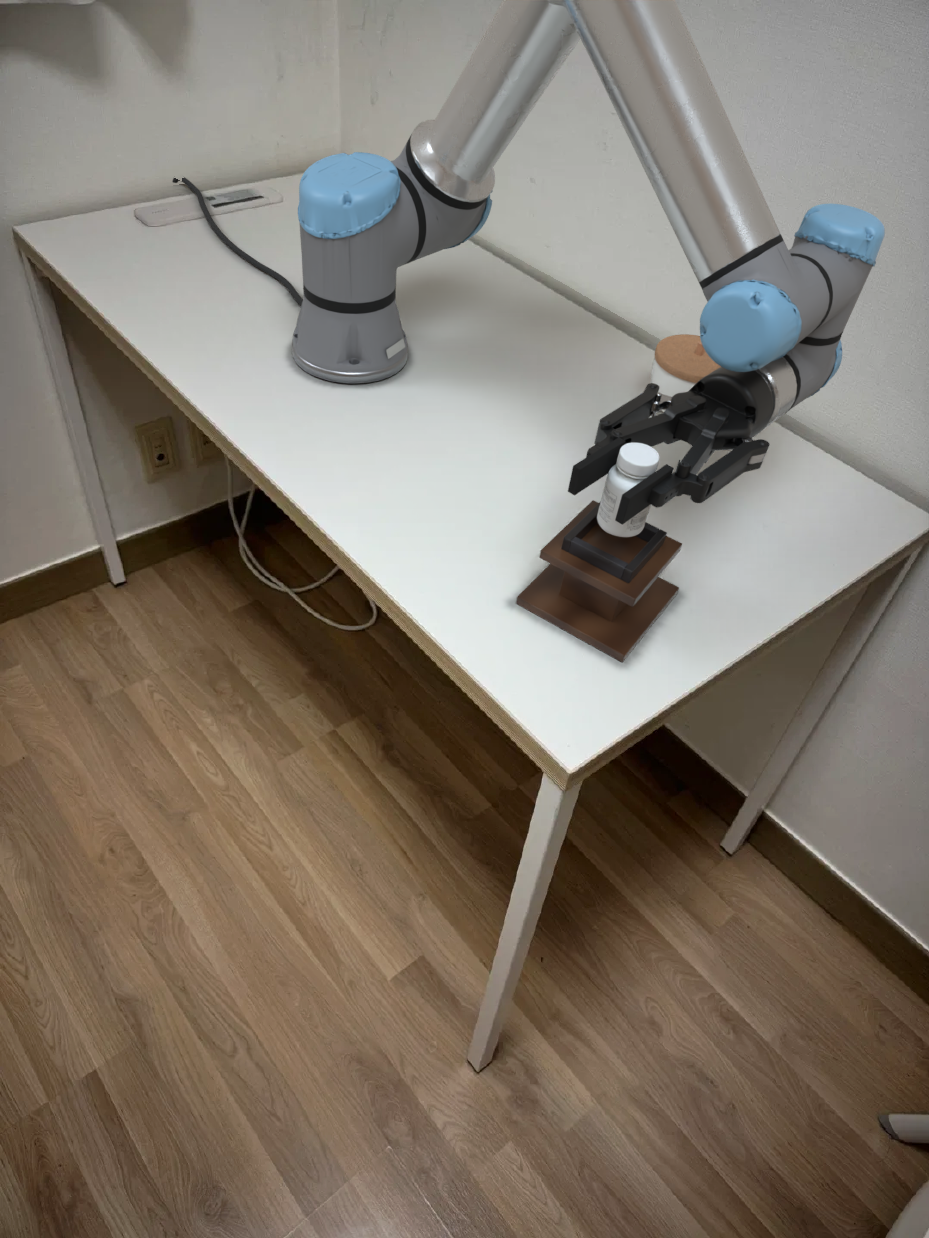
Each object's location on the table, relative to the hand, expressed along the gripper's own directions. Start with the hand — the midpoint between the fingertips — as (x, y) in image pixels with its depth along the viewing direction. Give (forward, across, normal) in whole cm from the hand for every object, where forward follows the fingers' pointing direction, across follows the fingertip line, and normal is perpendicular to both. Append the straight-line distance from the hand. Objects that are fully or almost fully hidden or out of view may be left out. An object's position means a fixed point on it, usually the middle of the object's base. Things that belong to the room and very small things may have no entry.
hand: (598, 494), depth 70 cm
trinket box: (-43, +14, -16) cm, 48 cm away
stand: (-5, 0, -16) cm, 17 cm away
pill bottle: (-5, 0, -6) cm, 8 cm away
